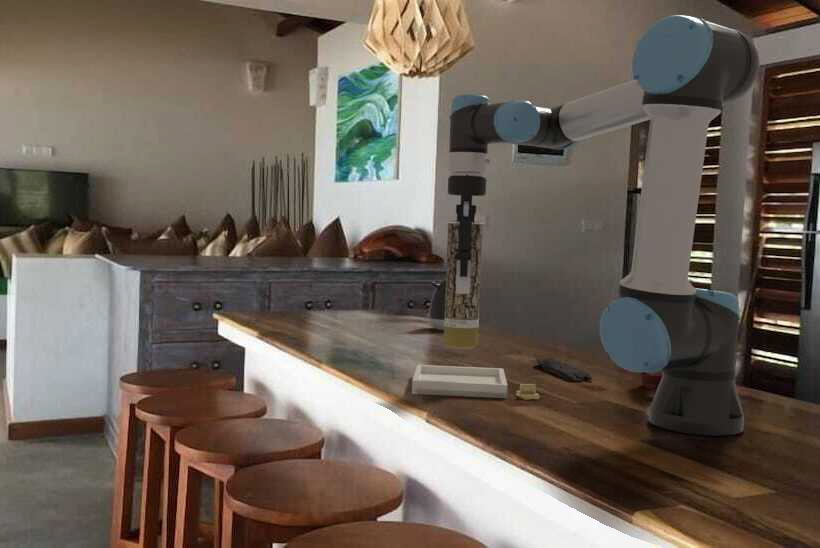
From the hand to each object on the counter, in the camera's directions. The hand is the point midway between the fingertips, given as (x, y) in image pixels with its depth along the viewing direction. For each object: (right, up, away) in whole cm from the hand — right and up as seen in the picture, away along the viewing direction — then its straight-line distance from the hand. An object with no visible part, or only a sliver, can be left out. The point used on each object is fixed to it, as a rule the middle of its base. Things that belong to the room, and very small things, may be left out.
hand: (462, 291), depth 170 cm
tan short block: (+12, -20, -7) cm, 24 cm away
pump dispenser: (0, -13, +88) cm, 89 cm away
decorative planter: (+43, -20, +6) cm, 48 cm away
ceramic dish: (-1, -19, +1) cm, 19 cm away
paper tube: (0, -11, +1) cm, 11 cm away
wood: (+24, -19, +21) cm, 37 cm away
